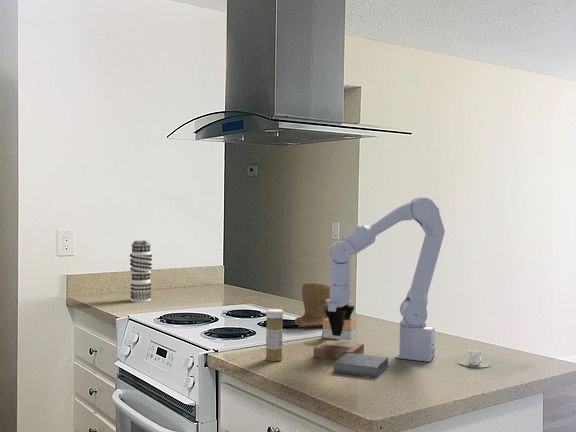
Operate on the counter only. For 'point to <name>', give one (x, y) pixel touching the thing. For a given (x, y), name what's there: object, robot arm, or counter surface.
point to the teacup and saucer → (474, 356)
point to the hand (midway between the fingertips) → (339, 333)
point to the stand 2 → (361, 365)
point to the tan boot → (313, 304)
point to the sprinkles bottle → (274, 334)
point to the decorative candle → (140, 271)
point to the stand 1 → (337, 349)
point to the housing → (347, 329)
